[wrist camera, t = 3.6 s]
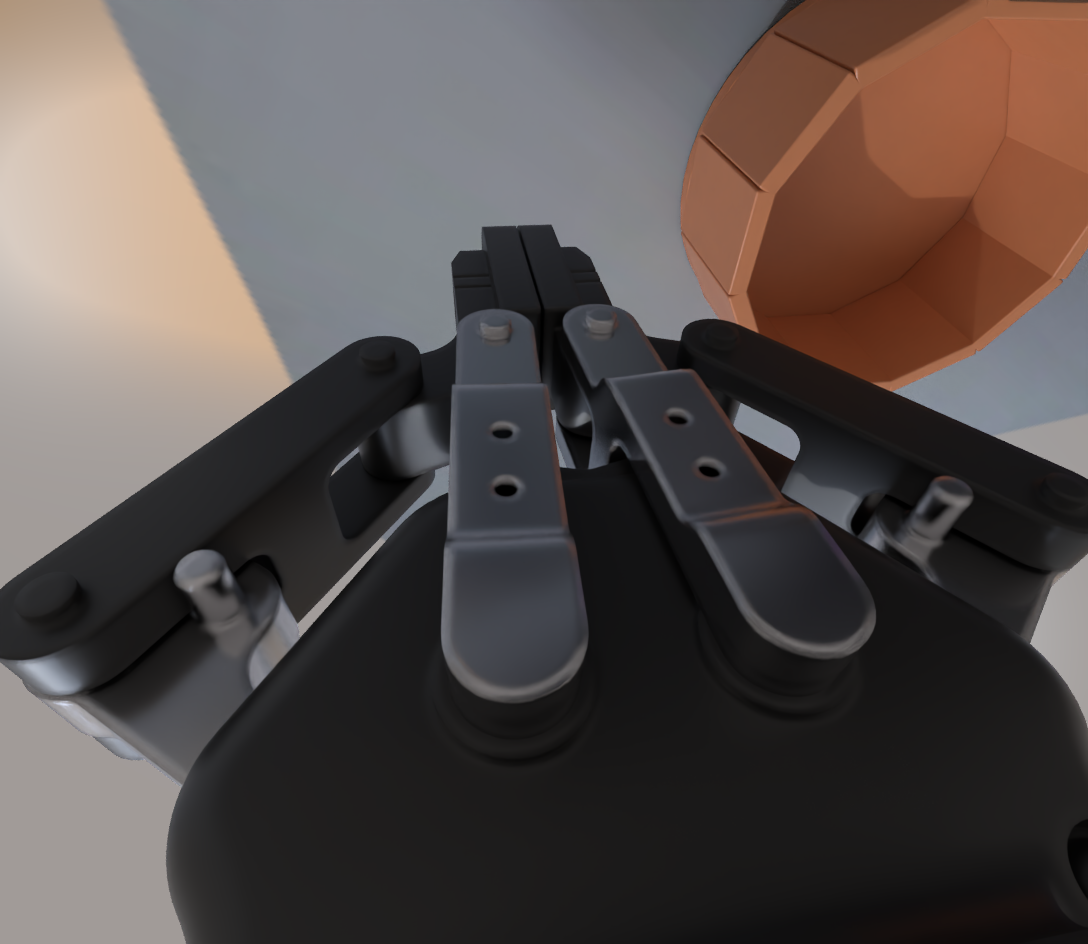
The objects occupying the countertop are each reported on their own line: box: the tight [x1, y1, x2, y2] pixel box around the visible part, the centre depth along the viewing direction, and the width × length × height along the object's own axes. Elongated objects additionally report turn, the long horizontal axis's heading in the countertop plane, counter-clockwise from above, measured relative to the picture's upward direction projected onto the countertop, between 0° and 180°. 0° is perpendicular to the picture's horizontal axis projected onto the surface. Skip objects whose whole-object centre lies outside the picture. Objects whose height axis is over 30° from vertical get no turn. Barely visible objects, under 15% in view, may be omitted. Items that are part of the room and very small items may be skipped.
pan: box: [681, 0, 1088, 392], centre depth 14 cm, size 17×10×5 cm, turn 178°
